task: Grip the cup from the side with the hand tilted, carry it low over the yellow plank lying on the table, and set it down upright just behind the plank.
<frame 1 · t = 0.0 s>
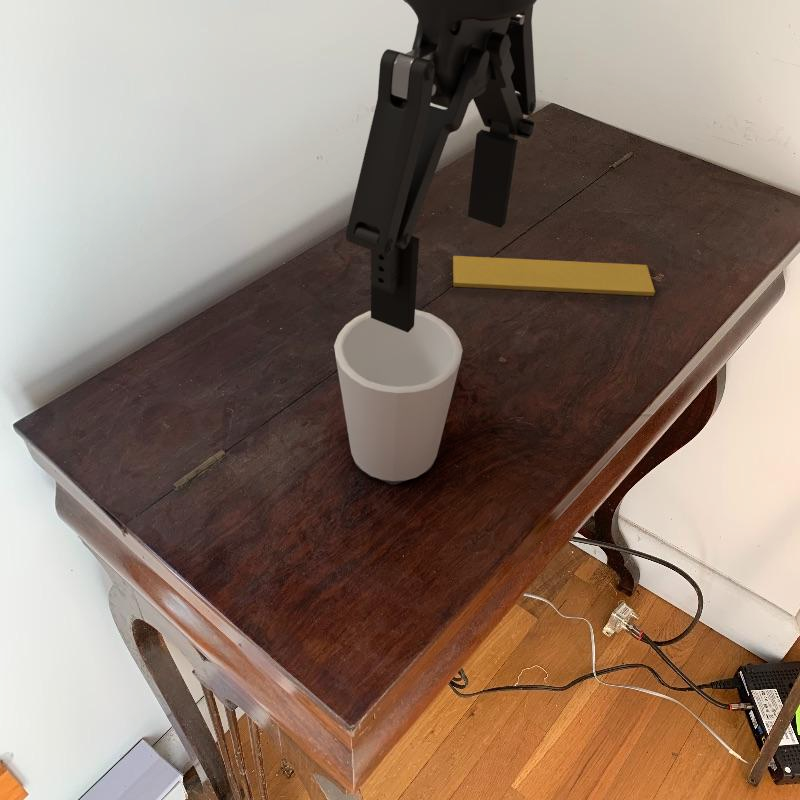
hand: (442, 267, 55), 21 cm above the table, tool pointing down, fingers open, 13 cm apart
cup: (393, 455, 71), on the table
yellow plank: (551, 277, 90), on the table
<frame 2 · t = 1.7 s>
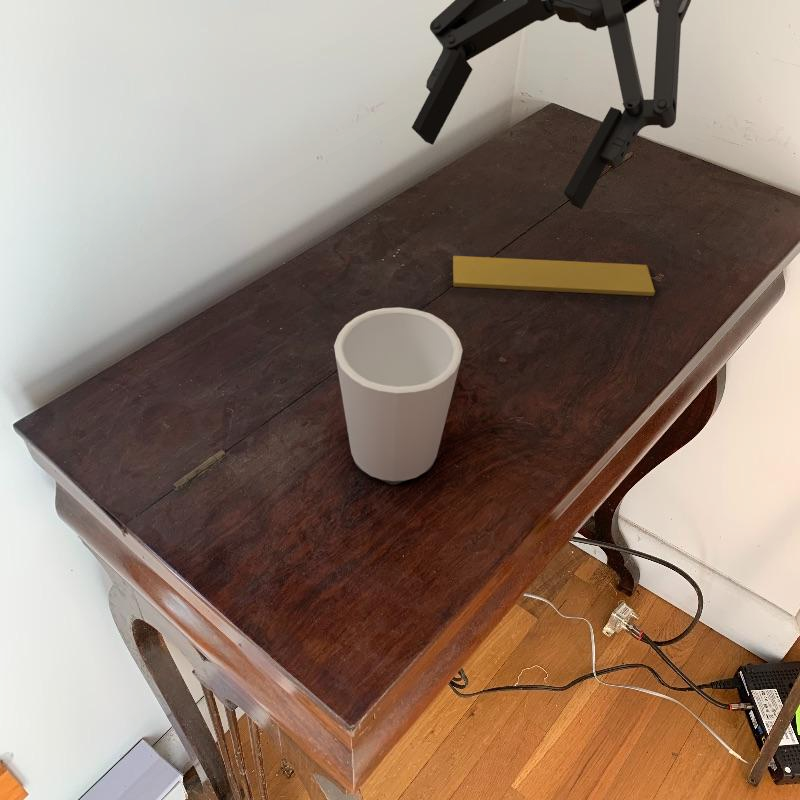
hand: (493, 167, 60), 24 cm above the table, tool tilted 45°, fingers open, 13 cm apart
nothing on the table moved.
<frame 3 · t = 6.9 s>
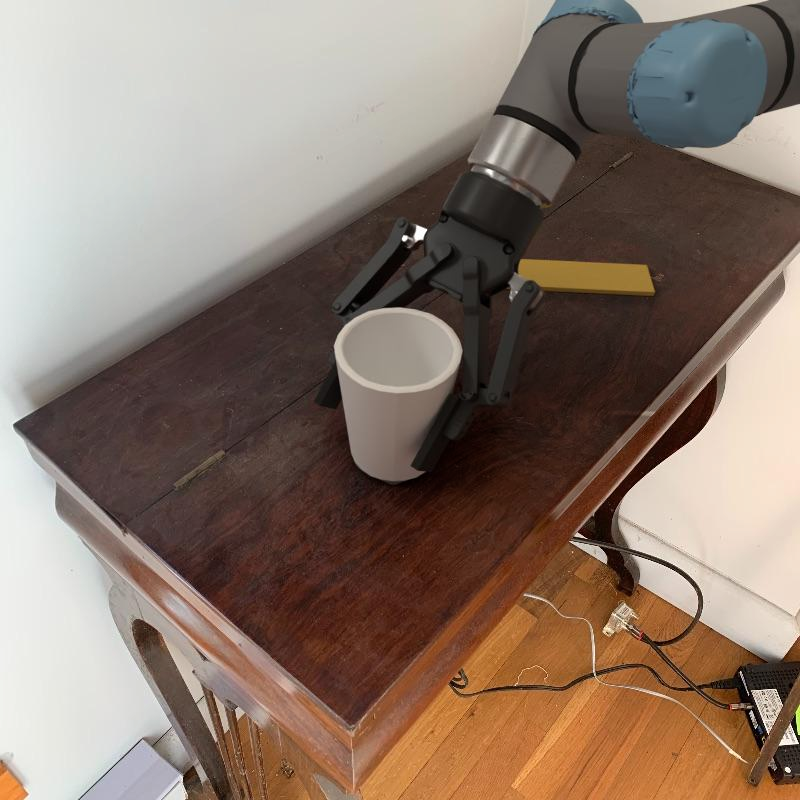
hand: (371, 436, 66), 5 cm above the table, tool tilted 45°, fingers closed on cup, 10 cm apart
cup: (393, 455, 71), on the table, touching gripper
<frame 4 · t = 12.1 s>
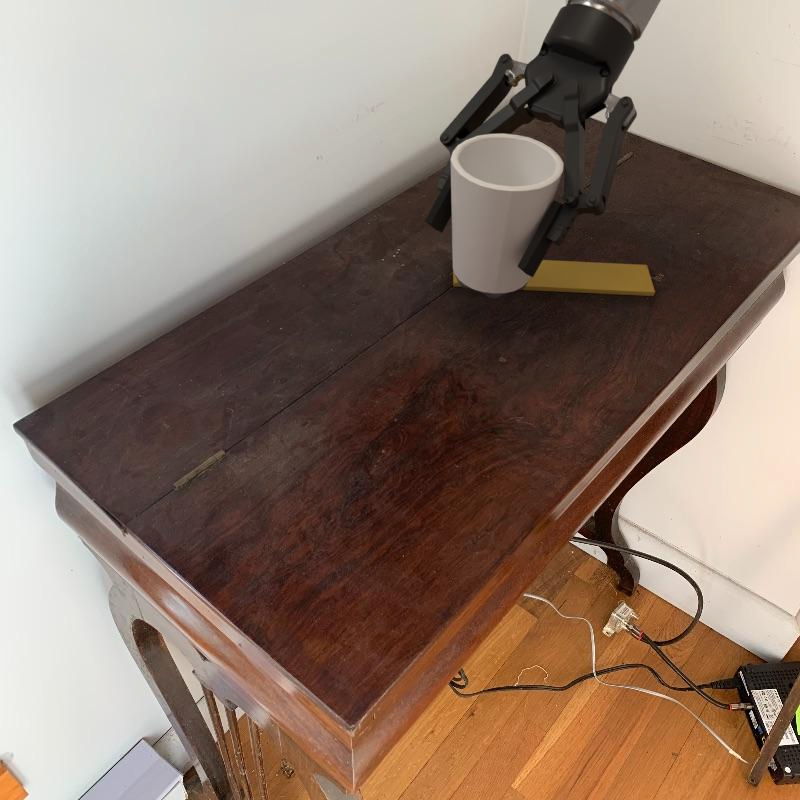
hand: (478, 248, 74), 11 cm above the table, tool tilted 45°, fingers closed on cup, 10 cm apart
cup: (490, 278, 80), point 6 cm above the table, touching gripper
when the fingers open (5 cm above the table, at t = 17.3 s): cup stays where it is, on the table.
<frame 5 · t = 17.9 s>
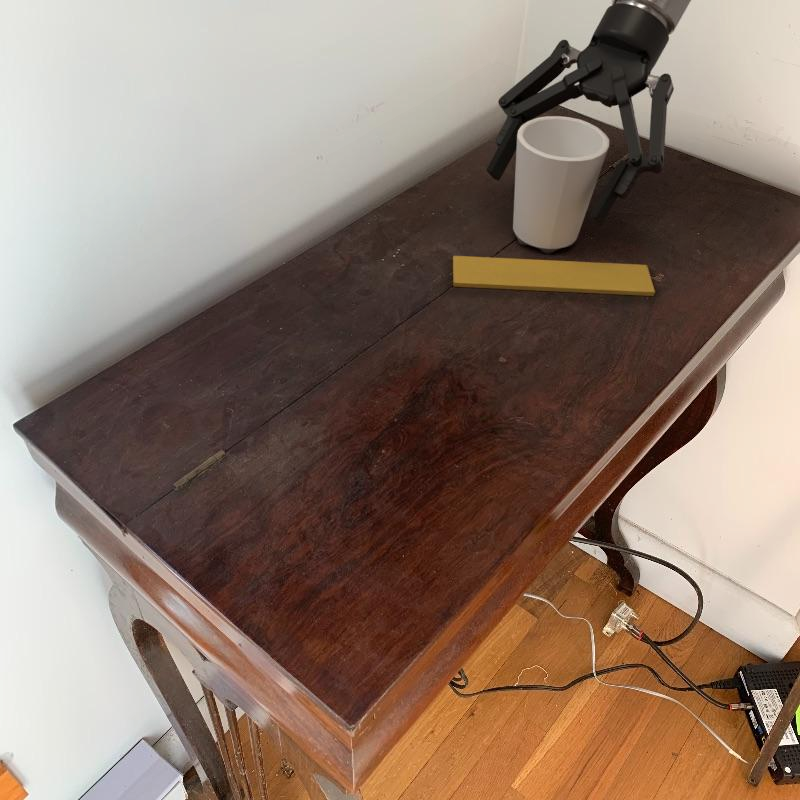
hand: (542, 197, 89), 6 cm above the table, tool tilted 45°, fingers open, 13 cm apart
cup: (543, 238, 95), on the table
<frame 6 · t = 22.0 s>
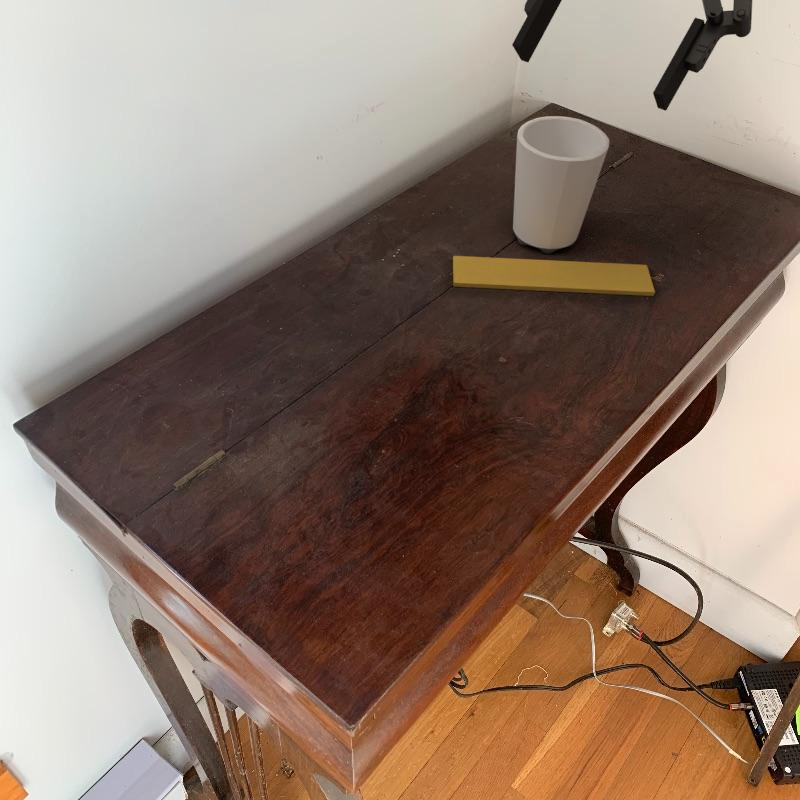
hand: (586, 77, 68), 25 cm above the table, tool tilted 45°, fingers open, 13 cm apart
nothing on the table moved.
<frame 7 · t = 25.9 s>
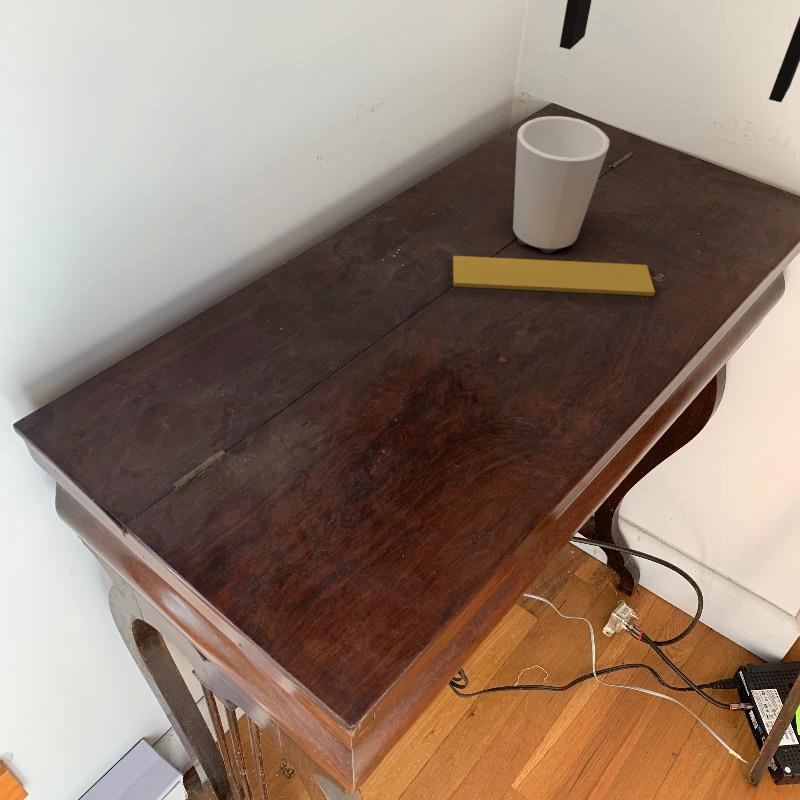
hand: (671, 66, 52), 33 cm above the table, tool pointing down, fingers open, 13 cm apart
nothing on the table moved.
at the end: cup inside the target area on the table beside the yellow plank (0.3 cm from its centre), on the table; cup tilted 0°; the gripper is holding nothing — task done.
